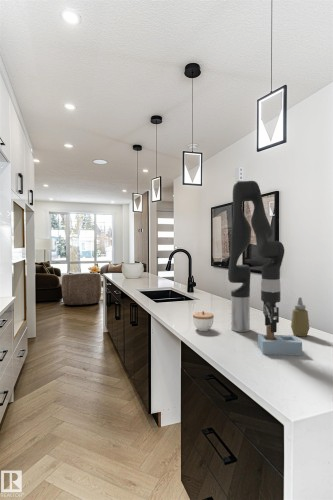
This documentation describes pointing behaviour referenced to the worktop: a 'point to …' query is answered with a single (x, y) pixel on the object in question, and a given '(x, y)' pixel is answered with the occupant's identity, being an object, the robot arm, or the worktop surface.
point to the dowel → (269, 333)
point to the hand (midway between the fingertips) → (270, 328)
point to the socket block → (280, 345)
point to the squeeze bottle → (300, 319)
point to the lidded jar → (203, 320)
